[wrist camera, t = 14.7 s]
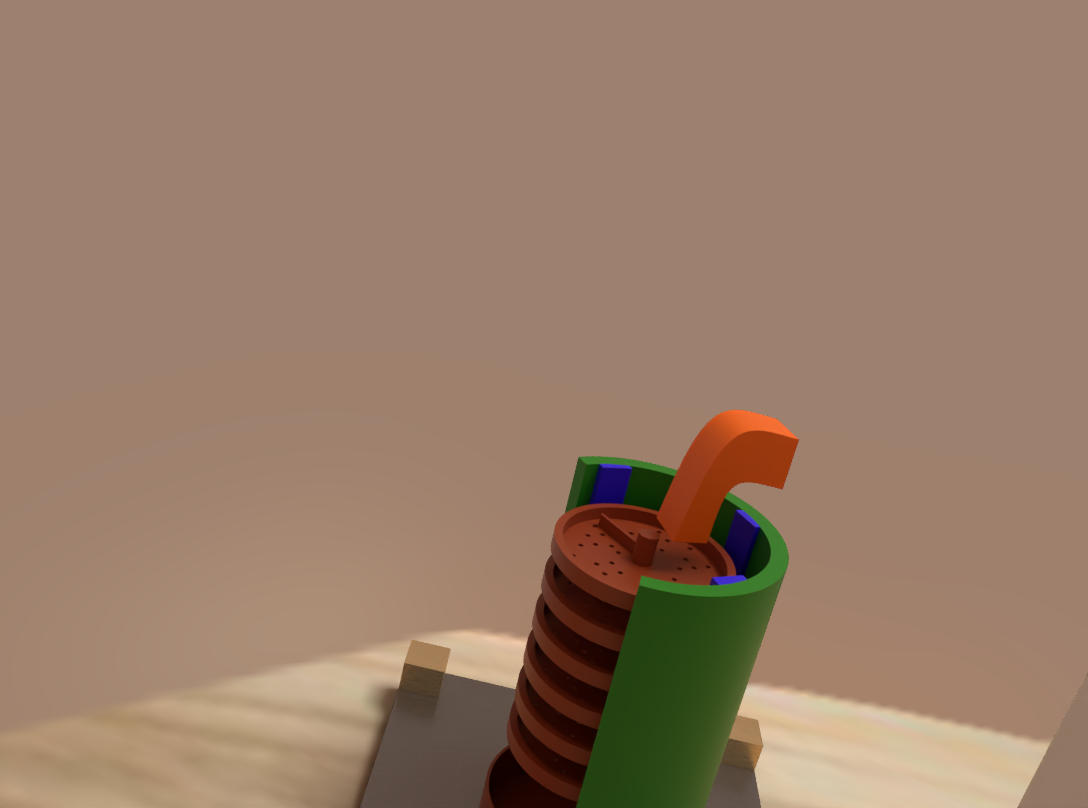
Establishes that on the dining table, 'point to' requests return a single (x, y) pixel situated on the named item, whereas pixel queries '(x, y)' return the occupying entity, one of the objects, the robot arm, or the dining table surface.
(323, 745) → the dining table surface
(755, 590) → the motor
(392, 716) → the plate
